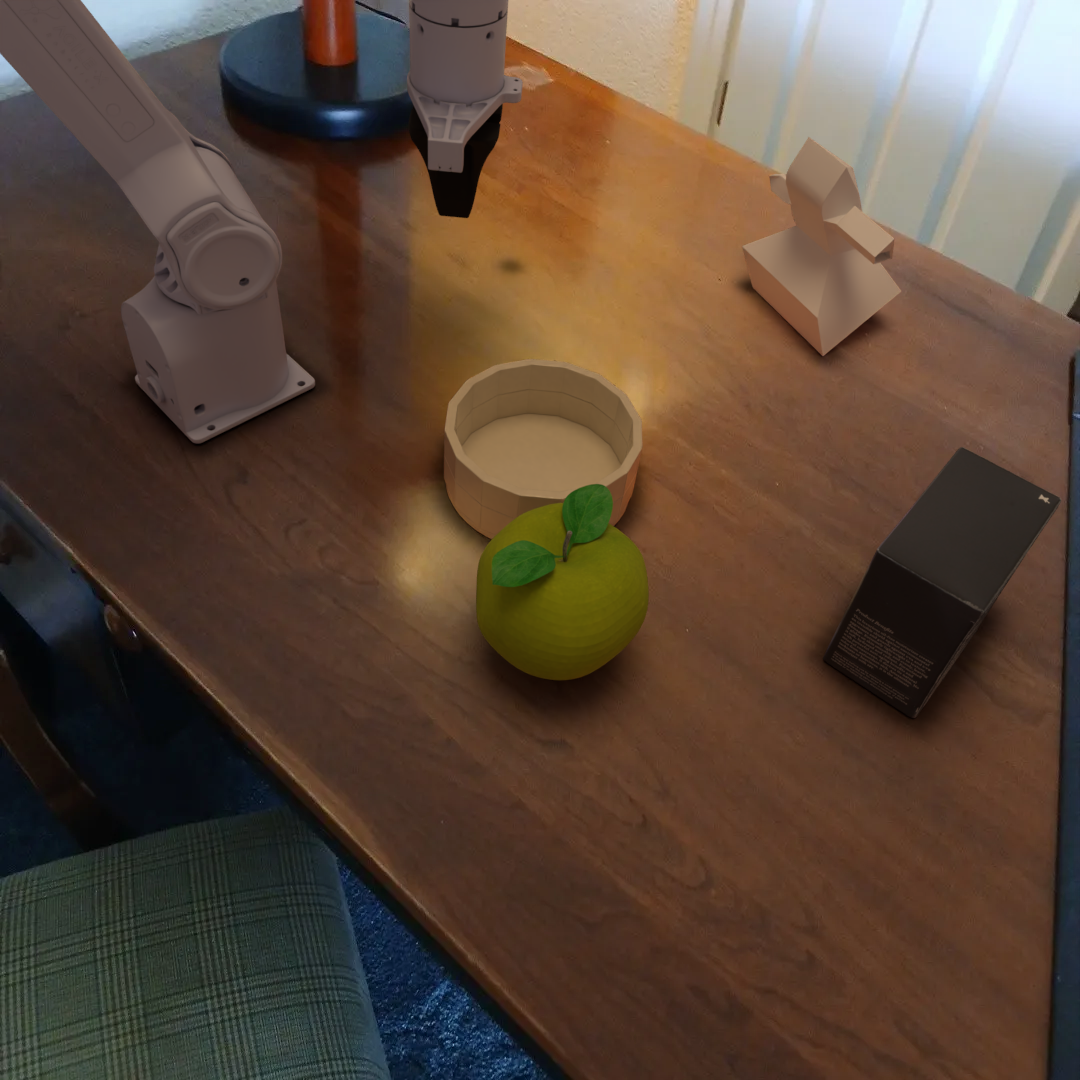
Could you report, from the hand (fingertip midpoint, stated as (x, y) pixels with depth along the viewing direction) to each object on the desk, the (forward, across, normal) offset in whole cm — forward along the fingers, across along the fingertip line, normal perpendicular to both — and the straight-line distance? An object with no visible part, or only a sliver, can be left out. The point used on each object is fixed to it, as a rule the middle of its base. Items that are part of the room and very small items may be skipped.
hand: (454, 211), depth 71 cm
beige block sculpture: (+10, +6, -28) cm, 30 cm away
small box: (+10, -26, -30) cm, 40 cm away
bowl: (+9, -15, -7) cm, 19 cm away
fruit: (+10, -28, -8) cm, 31 cm away
